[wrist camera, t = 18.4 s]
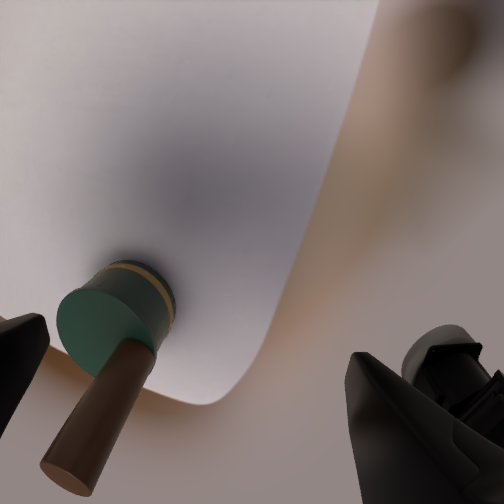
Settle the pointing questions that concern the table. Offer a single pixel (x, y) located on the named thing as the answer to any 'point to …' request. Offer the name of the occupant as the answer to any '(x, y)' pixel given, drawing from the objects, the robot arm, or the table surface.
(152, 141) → the table surface
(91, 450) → the green base with peg
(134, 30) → the table surface
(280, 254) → the table surface
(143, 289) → the tin
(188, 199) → the table surface
